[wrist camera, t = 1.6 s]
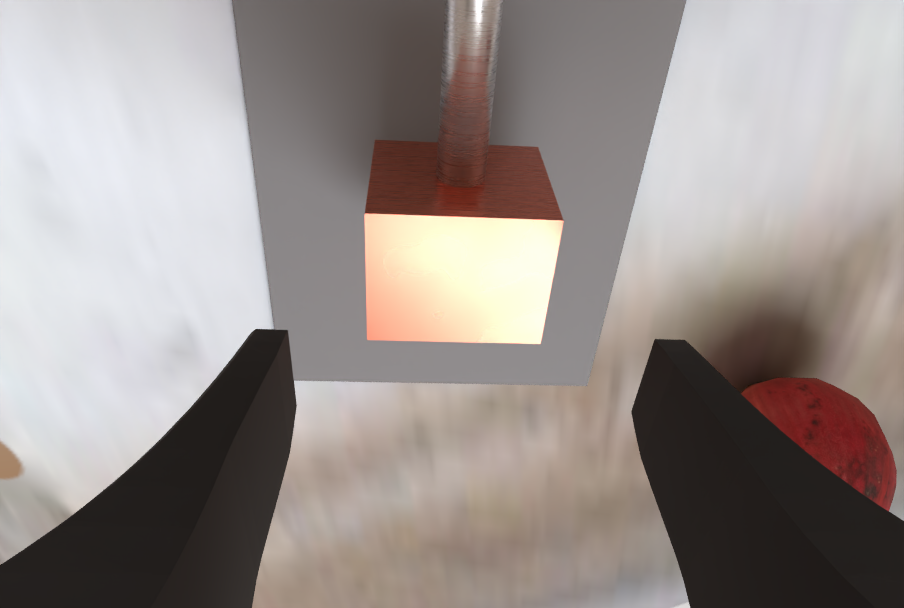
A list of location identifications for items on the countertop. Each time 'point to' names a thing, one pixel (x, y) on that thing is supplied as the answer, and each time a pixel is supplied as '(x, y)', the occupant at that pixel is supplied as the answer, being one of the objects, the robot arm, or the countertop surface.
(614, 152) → the gray panel
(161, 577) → the robot arm
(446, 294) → the copper cube mallet
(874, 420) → the onion
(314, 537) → the countertop surface
